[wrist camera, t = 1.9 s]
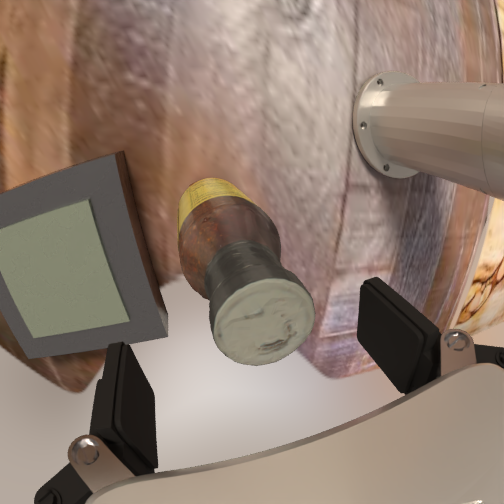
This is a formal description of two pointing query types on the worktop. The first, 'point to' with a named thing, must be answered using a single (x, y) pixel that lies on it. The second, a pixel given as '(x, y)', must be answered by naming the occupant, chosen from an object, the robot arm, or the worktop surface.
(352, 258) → the worktop surface
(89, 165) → the stand
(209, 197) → the sauce bottle
